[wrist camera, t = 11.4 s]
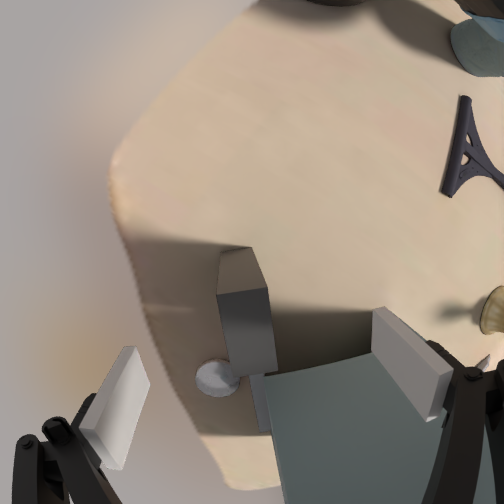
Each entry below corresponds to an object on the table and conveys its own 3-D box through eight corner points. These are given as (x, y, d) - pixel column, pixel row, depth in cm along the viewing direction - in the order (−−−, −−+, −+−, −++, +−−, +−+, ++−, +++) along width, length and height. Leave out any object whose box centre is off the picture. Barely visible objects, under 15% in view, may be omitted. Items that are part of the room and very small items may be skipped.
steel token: (190, 361, 31) (189, 367, 30) (233, 353, 32) (233, 359, 30) (203, 394, 32) (202, 400, 31) (243, 387, 33) (244, 393, 31)
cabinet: (246, 341, 31) (284, 592, 6) (390, 310, 32) (550, 452, 6) (264, 436, 34) (295, 607, 9) (380, 408, 35) (466, 542, 10)
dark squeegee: (497, 235, 32) (510, 238, 29) (438, 192, 30) (452, 192, 27) (514, 151, 30) (526, 151, 27) (457, 96, 28) (471, 92, 25)
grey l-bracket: (220, 252, 29) (216, 294, 17) (251, 247, 29) (267, 286, 17) (250, 408, 33) (259, 484, 21) (274, 404, 33) (290, 479, 21)
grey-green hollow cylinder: (495, 58, 25) (550, 53, 14) (479, 96, 27) (542, 96, 16) (456, 9, 22) (509, -10, 11) (436, 43, 25) (498, 25, 14)
